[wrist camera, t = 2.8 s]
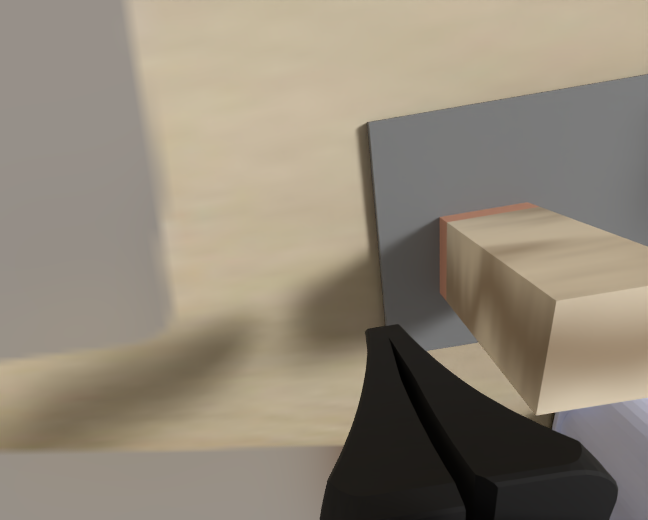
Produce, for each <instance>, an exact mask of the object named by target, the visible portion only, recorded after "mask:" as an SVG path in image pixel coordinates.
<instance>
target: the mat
mask: <svg viewBox="0 0 648 520" xmlns="http://www.w3.org/2000/svg"><path fill="white" fill-rule="evenodd" d="M367 127H368V138H369V149H370V160H371V171H372V182H373V193H374V204H375V215H376V226H377V237H378V248H379V259H380V270H381V281H382V292H383V303H384V314H385V325H386V326H389V325H395V324H399V325H400V326H401V327H402V328H403V329H404V330H405V331H406V332H407V333H408V334H409V335H410V336H411V337H412V338H413V339H414V340H415V341H416V342H417V343H418V344H419V345H420V346H421V347H422V348H423V349H424V350H425V351H429V350H435V349H441V348H447V347H453V346H459V345H465V344H472V343H478V341H477V340H476V338H475V337H474V336H473V335H472V333H471V332H470V331H469V329H468V328H467V327H466V326H465V324H464V323H463V322H462V320H461V319H460V318H459V317H458V315H457V314H456V313H455V312H454V310H453V309H452V308H451V306H450V305H449V304H448V303H447V301H446V300H445V299H444V298H443V296H442V295H441V294H440V217H443V216H449V215H455V214H461V213H466V212H472V211H478V210H484V209H490V208H496V207H502V206H508V205H514V204H520V203H526V202H528V203H531V204H534V205H536V206H539V207H542V208H544V209H547V210H550V211H553V212H555V213H558V214H561V215H563V216H566V217H569V218H572V219H574V220H577V221H580V222H582V223H585V224H588V225H591V226H593V227H596V228H599V229H601V230H604V231H607V232H610V233H612V234H615V235H618V236H620V237H623V238H626V239H629V240H631V241H634V242H637V243H639V244H642V245H645V246H648V74H646V75H640V76H634V77H629V78H623V79H617V80H611V81H605V82H599V83H594V84H588V85H582V86H576V87H570V88H564V89H559V90H553V91H547V92H541V93H535V94H529V95H524V96H518V97H512V98H506V99H500V100H494V101H489V102H483V103H477V104H471V105H465V106H459V107H454V108H448V109H442V110H436V111H430V112H424V113H419V114H413V115H407V116H401V117H395V118H389V119H384V120H378V121H372V122H367Z"/></svg>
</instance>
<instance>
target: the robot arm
mask: <svg viewBox="0 0 648 520" xmlns="http://www.w3.org/2000/svg"><path fill="white" fill-rule="evenodd" d="M365 334H366V342H367V364H366V372H365V378H364V384H363V389H362V393H361V398H360V401H359V405H358V409H357V412H356V415H355V418H354V421H353V424H352V427H351V430H350V432H349V435H348V437H347V440H346V442H345V445H344V447H343V449H342V452H341V454H340V456H339V458H338V460H337V462H336V464H335V466H334V468H333V470H332V472H331V474H330V476H329V478H328V481H327V485H326V489H325V494H324V499H323V504H322V509H321V514H320V520H648V398H642V399H636V400H630V401H624V402H618V403H611V404H605V405H599V406H593V407H586V408H580V409H574V410H568V411H561V412H555V417H554V422H553V426H552V429H549V428H547V427H545V426H542V425H540V424H538V423H536V422H534V421H532V420H530V419H528V418H526V417H524V416H522V415H520V414H518V413H516V412H514V411H512V410H510V409H508V408H506V407H504V406H503V405H501V404H499V403H497V402H496V401H494V400H492V399H490V398H489V397H487V396H485V395H484V394H482V393H480V392H479V391H477V390H476V389H474V388H473V387H471V386H470V385H468V384H467V383H465V382H464V381H462V380H461V379H460V378H458V377H457V376H456V375H454V374H453V373H452V372H450V371H449V370H448V369H447V368H445V367H444V366H443V365H442V364H440V363H439V362H438V361H437V360H436V359H434V358H433V357H432V356H431V355H430V354H429V353H428V352H427V351H425V350H424V349H423V348H422V347H421V346H420V345H419V344H418V343H417V342H416V341H415V340H414V339H413V338H412V337H411V336H410V335H409V334H408V333H407V332H406V331H405V330H404V329H403V328H402V327H401V326H400V325H399V324H395V325H389V326H383V327H376V328H370V329H367V330H366V331H365Z"/></svg>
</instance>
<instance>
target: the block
mask: <svg viewBox="0 0 648 520" xmlns="http://www.w3.org/2000/svg"><path fill="white" fill-rule="evenodd" d="M440 294H441V295H442V296H443V298H444V299H445V300H446V301H447V303H448V304H449V305H450V306H451V308H452V309H453V310H454V312H455V313H456V314H457V315H458V317H459V318H460V319H461V320H462V322H463V323H464V324H465V326H466V327H467V328H468V329H469V331H470V332H471V333H472V335H473V336H474V337H475V338H476V340H477V341H478V342H479V343H480V345H481V346H482V347H483V349H484V350H485V351H486V352H487V354H488V355H489V356H490V357H491V359H492V360H493V361H494V363H495V364H496V365H497V366H498V368H499V369H500V370H501V371H502V373H503V374H504V375H505V377H506V378H507V379H508V380H509V382H510V383H511V384H512V385H513V387H514V388H515V389H516V391H517V392H518V393H519V394H520V396H521V397H522V398H523V399H524V401H525V402H526V403H527V405H528V406H529V407H530V408H531V410H532V411H533V412H534V414H535V415H543V414H549V413H555V412H561V411H568V410H574V409H580V408H586V407H593V406H599V405H605V404H611V403H618V402H624V401H630V400H636V399H642V398H648V246H645V245H642V244H639V243H637V242H634V241H631V240H629V239H626V238H623V237H620V236H618V235H615V234H612V233H610V232H607V231H604V230H601V229H599V228H596V227H593V226H591V225H588V224H585V223H582V222H580V221H577V220H574V219H572V218H569V217H566V216H563V215H561V214H558V213H555V212H553V211H550V210H547V209H544V208H542V207H539V206H536V205H534V204H531V203H528V202H526V203H520V204H514V205H508V206H502V207H496V208H490V209H484V210H478V211H472V212H466V213H461V214H455V215H449V216H443V217H440Z"/></svg>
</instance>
